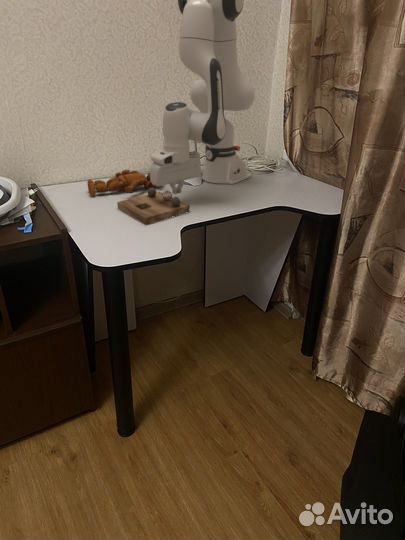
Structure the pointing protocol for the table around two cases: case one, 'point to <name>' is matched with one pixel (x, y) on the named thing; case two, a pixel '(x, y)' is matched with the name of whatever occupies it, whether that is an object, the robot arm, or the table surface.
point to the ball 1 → (151, 191)
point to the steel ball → (166, 195)
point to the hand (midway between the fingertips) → (177, 193)
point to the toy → (121, 182)
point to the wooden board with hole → (151, 208)
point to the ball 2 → (175, 201)
